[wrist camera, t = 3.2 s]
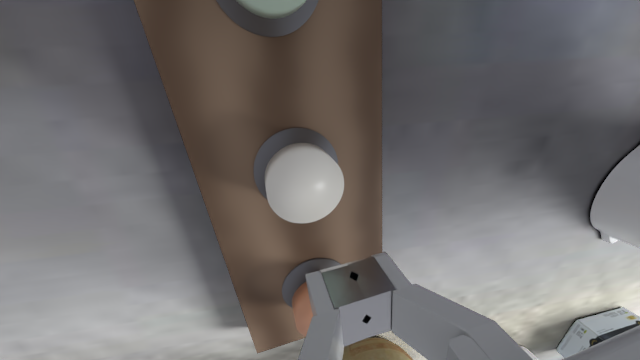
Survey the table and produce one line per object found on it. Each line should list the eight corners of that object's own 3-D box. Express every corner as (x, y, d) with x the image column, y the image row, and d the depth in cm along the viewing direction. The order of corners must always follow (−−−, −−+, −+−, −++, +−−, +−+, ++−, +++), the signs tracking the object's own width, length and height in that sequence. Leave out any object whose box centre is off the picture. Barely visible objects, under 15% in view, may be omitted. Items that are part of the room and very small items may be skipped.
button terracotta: (343, 269, 22) (351, 286, 20) (346, 308, 24) (354, 326, 22) (287, 285, 21) (291, 304, 19) (296, 324, 23) (300, 345, 21)
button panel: (357, -164, 15) (383, -221, 12) (370, 291, 31) (383, 313, 28) (90, -181, 12) (41, -260, 9) (256, 326, 28) (257, 355, 25)
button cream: (331, 136, 17) (341, 144, 15) (337, 200, 19) (346, 213, 17) (257, 149, 16) (258, 159, 14) (272, 215, 18) (274, 231, 16)
